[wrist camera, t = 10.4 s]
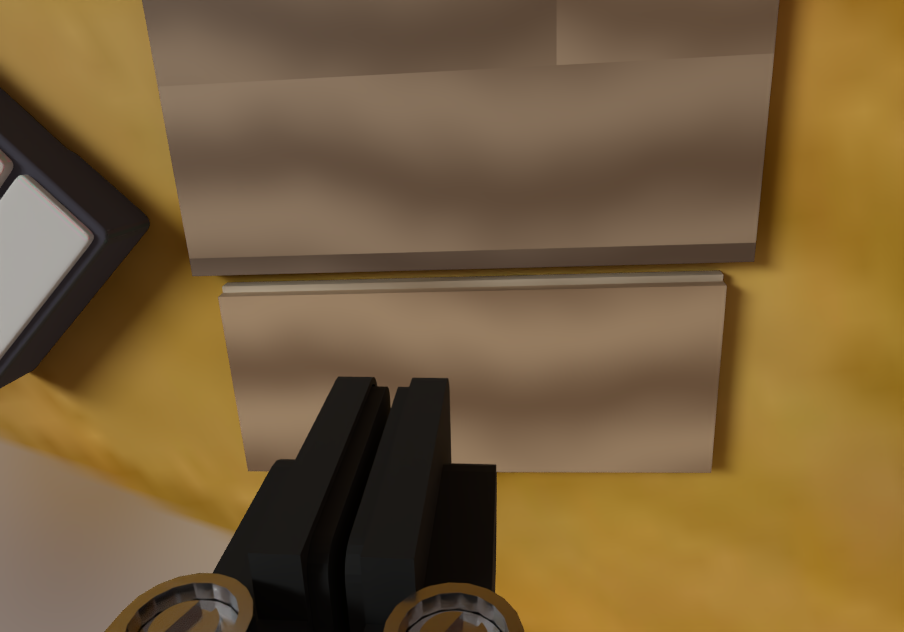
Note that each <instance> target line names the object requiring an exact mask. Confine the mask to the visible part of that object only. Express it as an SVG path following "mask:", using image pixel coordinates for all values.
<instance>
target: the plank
mask: <svg viewBox="0 0 904 632" xmlns="http://www.w3.org/2000/svg"><path fill="white" fill-rule="evenodd" d="M222 288H223V293H222V294H221V295H220V296H219V297H218V300H219V305H220V311H221V317H222V323H223V328H224V334H225V340H226V346H227V352H228V357H229V363H230V369H231V375H232V380H233V386H234V392H235V398H236V404H237V409H238V415H239V421H240V427H241V432H242V438H243V444H244V450H245V456H246V461H247V467H248V471H270V469H271V467H272V466H273V464H274V463H275V462H276V460H279V459H296V457H297V455H298V453H299V451H300V449H301V447H302V445H303V443H304V441H305V439H306V437H307V435H308V433H309V432H310V430H311V428H312V426H313V424H314V422H315V420H316V418H317V416H318V414H319V412H320V410H321V408H322V406H323V404H324V402H325V400H326V398H327V396H328V394H329V392H330V390H331V388H332V386H333V384H334V382H335V380H336V379H337V377H338V376H342V377H375V379H376V382H377V386H386V387H388V388H389V392H390V404H391V406H392V403H393V400H394V397H395V394H396V391H397V388H398V387H409V386H410V383H411V380H412V378H448V379H449V387H450V422H451V461H452V463H461V464H496V472H670V473H711V467H712V455H713V444H714V432H715V420H716V408H717V396H718V384H719V373H720V361H721V349H722V337H723V325H724V313H725V302H726V290H727V285H726V284H725V283H724V282H723V274H722V272H721V271H680V272H639V273H598V274H557V275H517V276H476V277H435V278H394V279H354V280H313V281H272V282H231V283H226V284H225V285H224V286H222Z"/></svg>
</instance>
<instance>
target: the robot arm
mask: <svg viewBox="0 0 904 632" xmlns="http://www.w3.org/2000/svg"><path fill="white" fill-rule="evenodd" d="M496 502H497V472H496V464H461V463H452V461H451V422H450V387H449V379H448V378H412V380H411V383H410V386H409V387H398V388H397V391H396V394H395V397H394V400H393V403H392V406H391V404H390V392H389V388H388V387H386V386H377V382H376V379H375V377H342V376H338V377H337V379H336V380H335V382H334V384H333V386H332V388H331V390H330V392H329V394H328V396H327V398H326V400H325V402H324V404H323V406H322V408H321V410H320V412H319V414H318V416H317V418H316V420H315V422H314V424H313V426H312V428H311V430H310V432H309V433H308V435H307V437H306V439H305V441H304V443H303V445H302V447H301V449H300V451H299V453H298V455H297V457H296V459H279V460H276V462H275V463H274V464H273V466H272V467H271V469H270V471H269V473H268V474H267V476H266V478H265V480H264V482H263V483H262V485H261V487H260V489H259V491H258V492H257V494H256V496H255V498H254V500H253V501H252V503H251V505H250V507H249V509H248V510H247V512H246V514H245V516H244V518H243V519H242V521H241V523H240V525H239V527H238V528H237V530H236V532H235V534H234V536H233V537H232V539H231V541H230V543H229V545H228V546H227V548H226V550H225V552H224V554H223V555H222V557H221V559H220V561H219V563H218V564H217V566H216V568H215V570H214V572H213V573H197V574H192V575H187V576H181V577H177V578H174V579H172V580H169V581H166V582H164V583H161V584H159V585H157V586H155V587H153V588H152V589H150V590H148V591H147V592H145V593H143V594H142V595H140V596H138V597H137V598H136V599H135V600H134V601H133V602H132V603H131V604H130V605H128V606H127V607H126V608H125V609H124V610H123V611H122V612H121V614H119V616H118V617H117V618H116V619H115V620H114V621H113V622H112V624H111V625H110V626H109V627H108V628H107V629H106V631H105V632H524V628H523V626H522V623H521V621H520V619H519V616H518V614H517V612H516V611H515V610H514V609H513V608H512V606H511V605H510V604H509V603H508V602H507V601H506V600H505V599H504V598H502V597H501V596H499V595H497V594H496V593H495V575H496Z"/></svg>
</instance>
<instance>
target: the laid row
mask: <svg viewBox="0 0 904 632" xmlns="http://www.w3.org/2000/svg"><path fill="white" fill-rule="evenodd" d="M142 2H143V8H144V13H145V19H146V24H147V30H148V35H149V41H150V46H151V51H152V57H153V62H154V68H155V73H156V79H157V84H158V90H159V95H160V101H161V106H162V111H163V117H164V122H165V128H166V133H167V139H168V144H169V150H170V155H171V161H172V166H173V171H174V177H175V182H176V188H177V193H178V199H179V204H180V210H181V215H182V221H183V226H184V231H185V237H186V242H187V248H188V253H189V259H190V265H191V270H192V276H216V275H255V274H294V273H333V272H372V271H411V270H450V269H489V268H528V267H567V266H606V265H645V264H684V263H723V262H754V258H755V248H756V236H757V226H758V216H759V205H760V195H761V185H762V174H763V164H764V154H765V143H766V133H767V123H768V112H769V102H770V92H771V81H772V71H773V61H774V50H775V40H776V30H777V19H778V9H779V0H142Z"/></svg>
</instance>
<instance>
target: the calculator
mask: <svg viewBox="0 0 904 632" xmlns="http://www.w3.org/2000/svg"><path fill="white" fill-rule="evenodd" d="M149 225H150V222H149V219H148V217H147V216H146V215H145V214H144V213H143V212H142V211H141V210H140V209H139V208H137V207H136V206H135V205H134V204H133V203H132V202H131V201H129V200H128V199H127V198H126V197H125V196H124V195H123V194H122V193H120V192H119V191H118V190H117V189H116V188H115V187H114V186H112V185H111V184H110V183H109V182H108V181H107V180H106V179H105V178H103V177H102V176H101V175H100V174H99V173H98V172H97V171H95V170H94V169H93V168H92V167H91V166H90V165H89V164H88V163H86V162H85V161H84V160H83V159H82V158H81V157H79V156H78V155H77V154H75V153H73V152H72V151H70V150H68V149H67V148H65V147H64V146H63V145H62V144H61V143H60V142H59V141H58V140H57V139H56V138H54V137H53V136H52V135H51V134H50V133H49V132H48V131H47V130H46V129H45V128H44V127H43V126H41V125H40V124H39V123H38V122H37V121H36V120H35V119H34V118H33V117H32V116H31V115H30V114H28V113H27V112H26V111H25V110H24V109H23V108H22V107H21V106H20V105H19V104H18V103H17V102H15V101H14V100H13V99H12V98H11V97H10V96H9V95H8V94H7V93H6V92H5V91H4V90H2V89H1V88H0V388H2V387H3V386H5V385H7V384H9V383H11V382H13V381H14V380H16V379H18V378H20V377H22V376H23V375H25V374H27V373H29V372H31V371H32V370H34V369H35V368H36V367H37V366H38V364H39V363H40V362H41V361H42V359H43V358H44V357H45V356H46V355H47V353H48V352H49V351H50V350H51V348H52V347H53V346H54V345H55V343H56V342H57V341H58V340H59V338H60V337H61V336H62V335H63V334H64V332H65V331H66V330H67V329H68V327H69V326H70V325H71V324H72V322H73V321H74V320H75V319H76V318H77V316H78V315H79V314H80V313H81V311H82V310H83V309H84V308H85V306H86V305H87V304H88V303H89V301H90V300H91V299H92V298H93V297H94V295H95V294H96V293H97V292H98V290H99V289H100V288H101V287H102V285H103V284H104V283H105V282H106V281H107V279H108V278H109V277H110V276H111V274H112V273H113V272H114V271H115V269H116V268H117V267H118V266H119V264H120V263H121V262H122V261H123V260H124V258H125V257H126V256H127V255H128V253H129V252H130V251H131V250H132V248H133V247H134V246H135V245H136V244H137V242H138V241H139V240H140V239H141V237H142V236H143V235H144V234H145V232H146V231H147V230H148V228H149Z"/></svg>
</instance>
